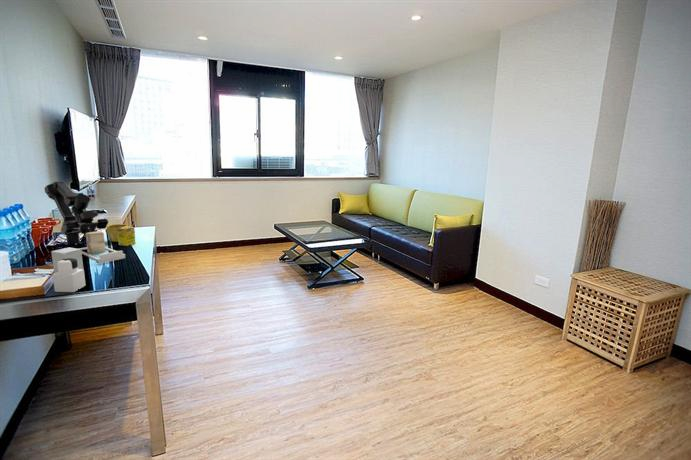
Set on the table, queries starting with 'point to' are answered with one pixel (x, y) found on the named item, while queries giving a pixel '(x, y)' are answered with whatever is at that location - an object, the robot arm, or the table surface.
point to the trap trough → (106, 255)
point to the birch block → (95, 242)
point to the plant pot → (114, 231)
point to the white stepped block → (68, 276)
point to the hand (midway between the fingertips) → (92, 238)
